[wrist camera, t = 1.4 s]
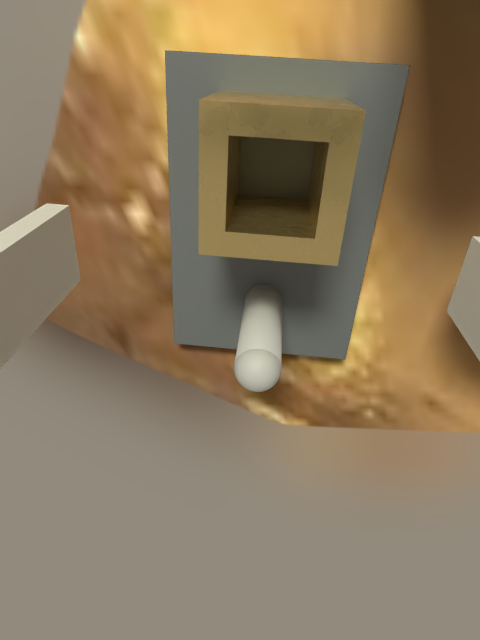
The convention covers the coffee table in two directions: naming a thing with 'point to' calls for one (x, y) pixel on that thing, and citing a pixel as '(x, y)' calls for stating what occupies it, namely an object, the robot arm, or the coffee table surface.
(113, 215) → the coffee table surface
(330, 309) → the post plate
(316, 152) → the collar
